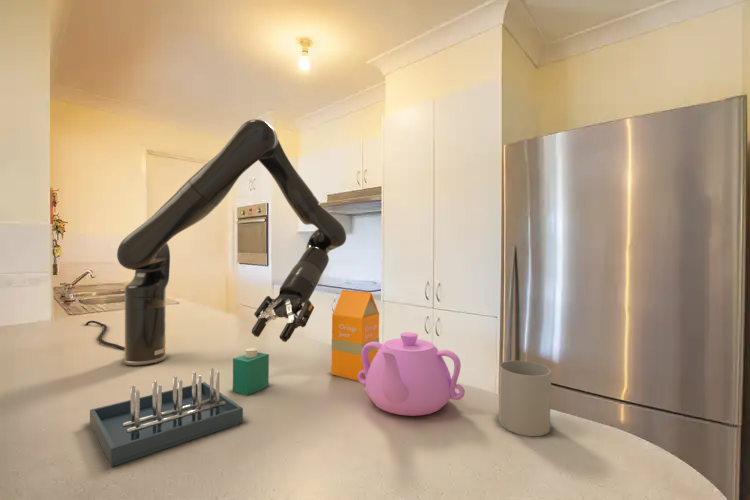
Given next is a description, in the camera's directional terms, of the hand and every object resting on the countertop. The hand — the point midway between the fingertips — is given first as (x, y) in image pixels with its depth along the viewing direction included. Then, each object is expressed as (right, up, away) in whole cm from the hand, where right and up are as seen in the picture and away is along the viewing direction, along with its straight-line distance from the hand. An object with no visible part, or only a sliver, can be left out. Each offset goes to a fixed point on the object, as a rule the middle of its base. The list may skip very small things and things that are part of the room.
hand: (268, 337), depth 86 cm
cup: (+50, -11, -19) cm, 55 cm away
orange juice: (+19, -10, +6) cm, 23 cm away
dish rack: (-8, -10, -24) cm, 27 cm away
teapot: (+30, -11, -13) cm, 34 cm away
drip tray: (-12, -10, -21) cm, 26 cm away
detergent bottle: (-3, -10, -4) cm, 11 cm away
